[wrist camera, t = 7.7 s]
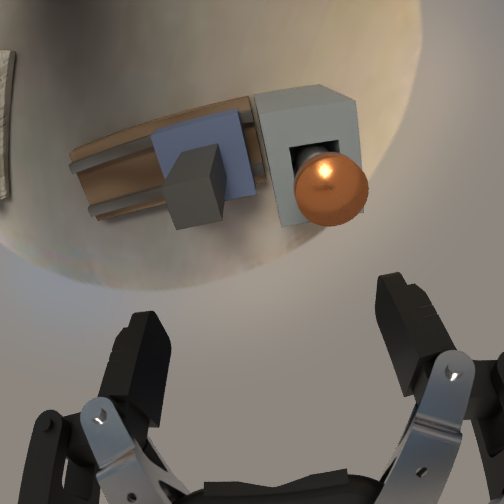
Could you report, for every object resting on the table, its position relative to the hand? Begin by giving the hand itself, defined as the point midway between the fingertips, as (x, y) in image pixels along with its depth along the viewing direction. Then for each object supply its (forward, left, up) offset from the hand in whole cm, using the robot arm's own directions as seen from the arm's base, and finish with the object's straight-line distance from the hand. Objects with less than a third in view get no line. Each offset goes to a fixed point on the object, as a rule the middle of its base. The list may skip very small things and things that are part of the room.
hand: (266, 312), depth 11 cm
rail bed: (0, -8, -21) cm, 23 cm away
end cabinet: (0, +4, -21) cm, 22 cm away
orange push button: (0, +4, -13) cm, 14 cm away
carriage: (0, -4, -19) cm, 19 cm away
